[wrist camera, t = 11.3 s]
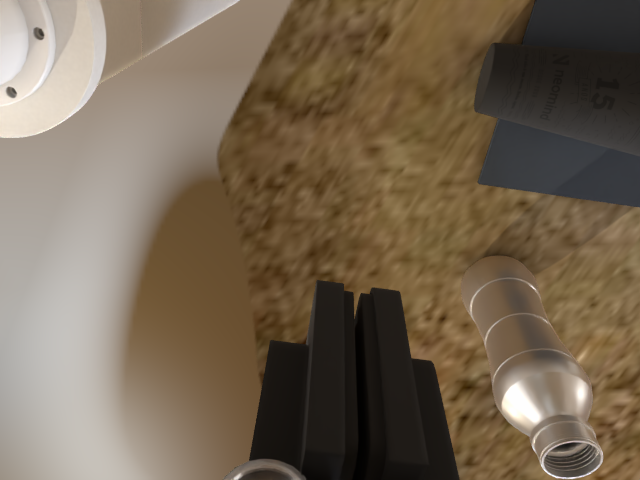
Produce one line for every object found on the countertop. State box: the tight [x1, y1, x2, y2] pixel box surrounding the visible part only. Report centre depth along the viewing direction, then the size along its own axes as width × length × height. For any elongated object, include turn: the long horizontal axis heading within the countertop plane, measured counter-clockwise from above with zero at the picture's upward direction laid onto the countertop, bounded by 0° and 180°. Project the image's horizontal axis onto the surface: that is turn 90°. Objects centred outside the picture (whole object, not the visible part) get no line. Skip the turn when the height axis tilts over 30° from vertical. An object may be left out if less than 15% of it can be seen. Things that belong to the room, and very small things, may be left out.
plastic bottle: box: [461, 256, 603, 479], centre depth 40 cm, size 6×7×20 cm
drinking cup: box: [474, 43, 640, 156], centre depth 37 cm, size 8×8×20 cm
